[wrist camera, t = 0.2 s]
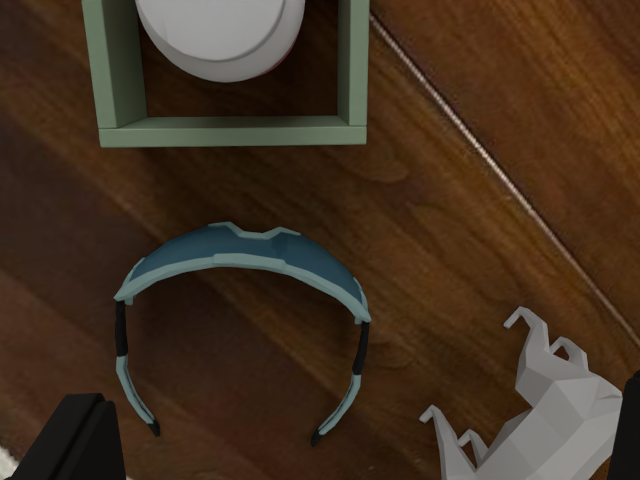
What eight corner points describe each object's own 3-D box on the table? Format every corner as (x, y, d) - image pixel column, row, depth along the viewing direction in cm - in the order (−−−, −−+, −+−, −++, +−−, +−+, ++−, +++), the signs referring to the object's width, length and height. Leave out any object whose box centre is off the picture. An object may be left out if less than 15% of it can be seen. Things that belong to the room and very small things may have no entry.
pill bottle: (325, 11, 27) (351, -22, 17) (246, 103, 28) (223, 126, 18) (230, -85, 26) (193, -189, 15) (150, 16, 27) (64, -15, 16)
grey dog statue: (374, 459, 36) (427, 692, 23) (585, 228, 32) (804, 348, 18) (424, 489, 37) (503, 728, 24) (635, 269, 33) (875, 411, 19)
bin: (106, -122, 25) (58, -171, 20) (355, -118, 25) (373, -164, 20) (134, 132, 28) (100, 148, 23) (351, 130, 29) (366, 144, 24)
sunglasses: (379, 226, 31) (394, 268, 26) (341, 421, 37) (348, 482, 33) (127, 200, 29) (97, 240, 25) (132, 408, 36) (109, 469, 31)
